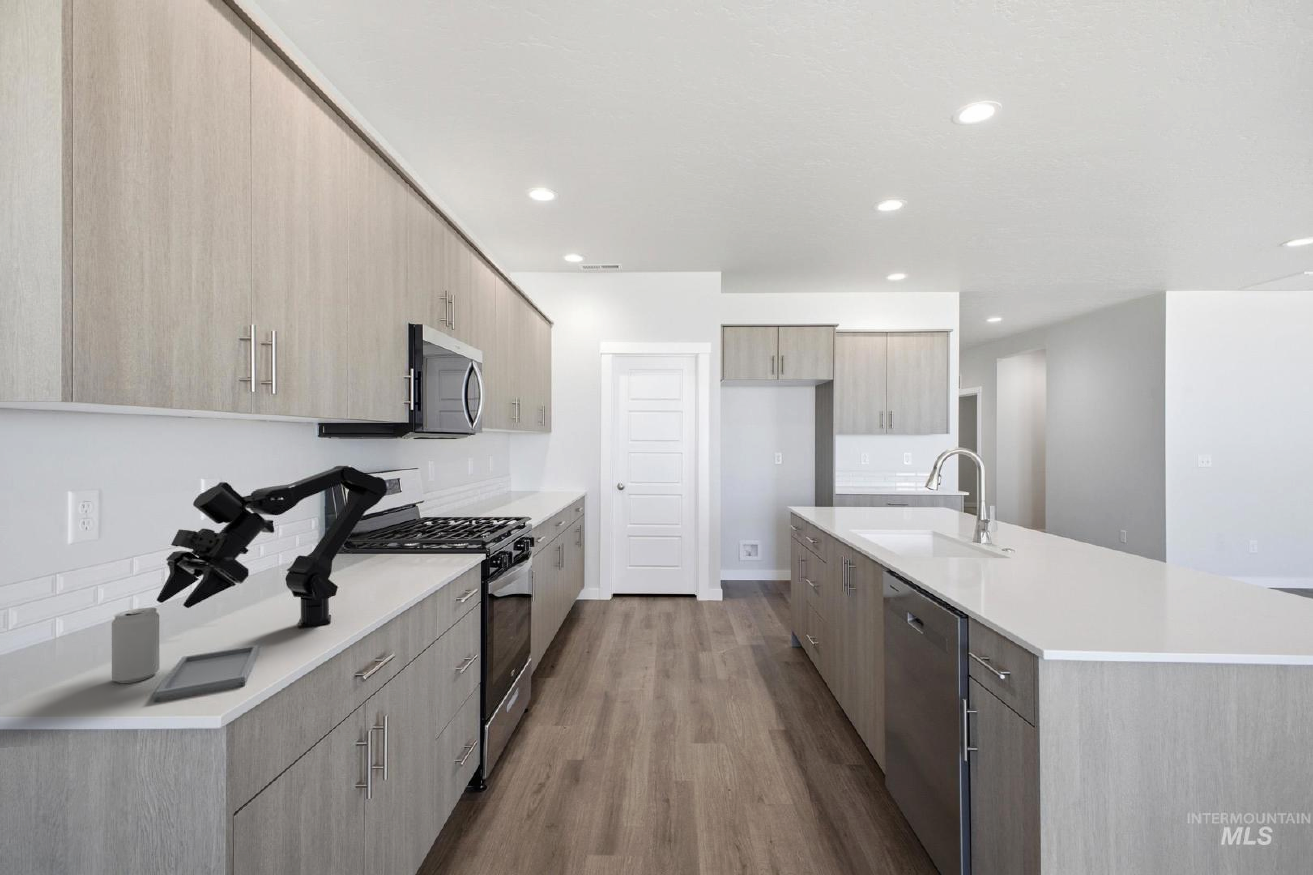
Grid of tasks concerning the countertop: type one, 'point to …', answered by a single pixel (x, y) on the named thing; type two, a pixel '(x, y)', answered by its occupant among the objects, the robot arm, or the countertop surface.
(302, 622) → the robot arm
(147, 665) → the beverage can
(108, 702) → the countertop surface
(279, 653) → the countertop surface
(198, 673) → the tray
